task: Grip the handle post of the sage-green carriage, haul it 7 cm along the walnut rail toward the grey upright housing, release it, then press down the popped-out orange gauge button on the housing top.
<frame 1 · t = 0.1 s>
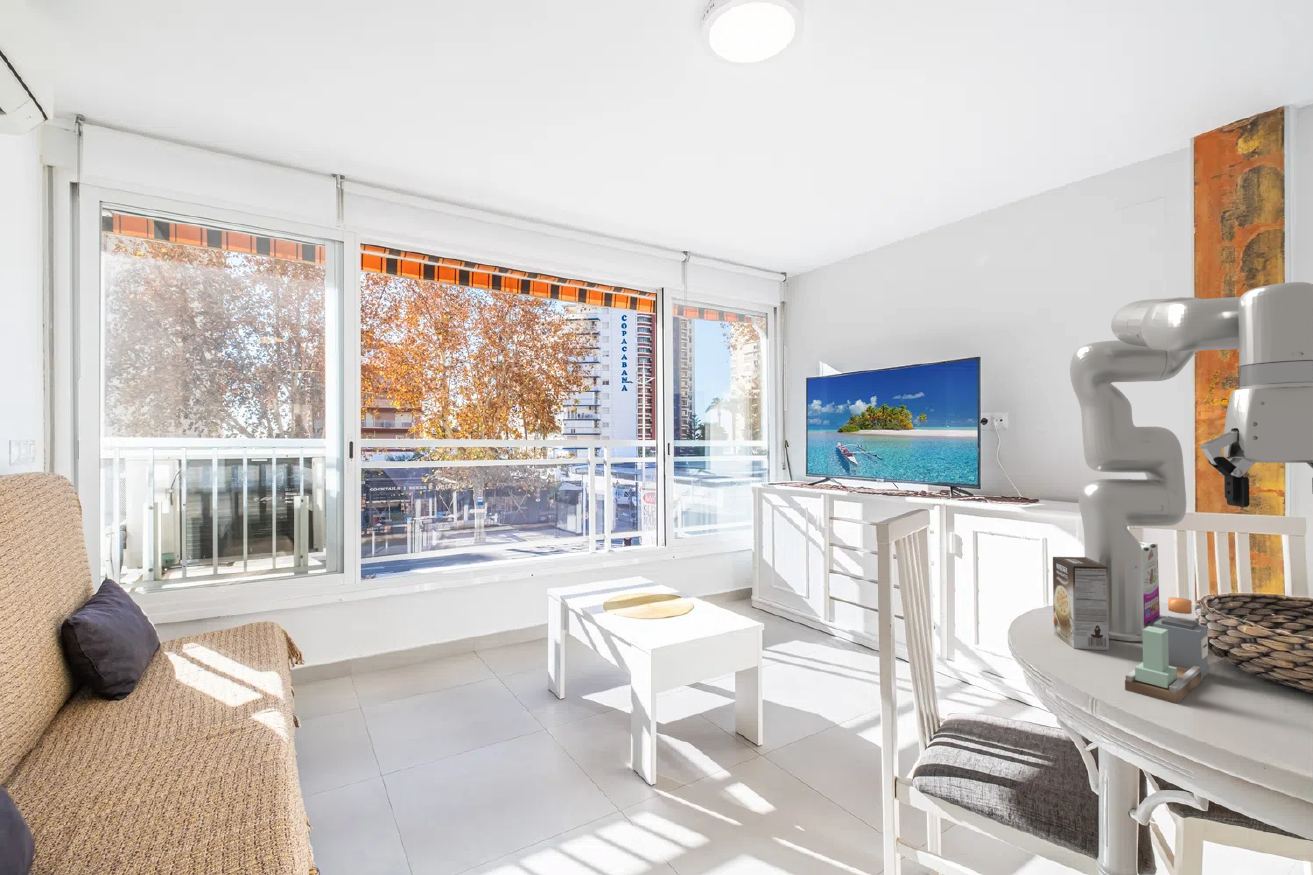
hand: (1281, 506, 79), 31 cm above the table, tool pointing down, fingers open, 9 cm apart
candy bar box: (1138, 619, 131), on the table
rail track: (1163, 685, 96), on the table
carriage: (1155, 654, 94), point 6 cm above the table, slide at 0.0 cm
grey upright housing: (1180, 670, 102), on the table
gauge button: (1179, 605, 102), point 11 cm above the table, slide at 0.0 cm
coffee box: (1080, 642, 117), on the table
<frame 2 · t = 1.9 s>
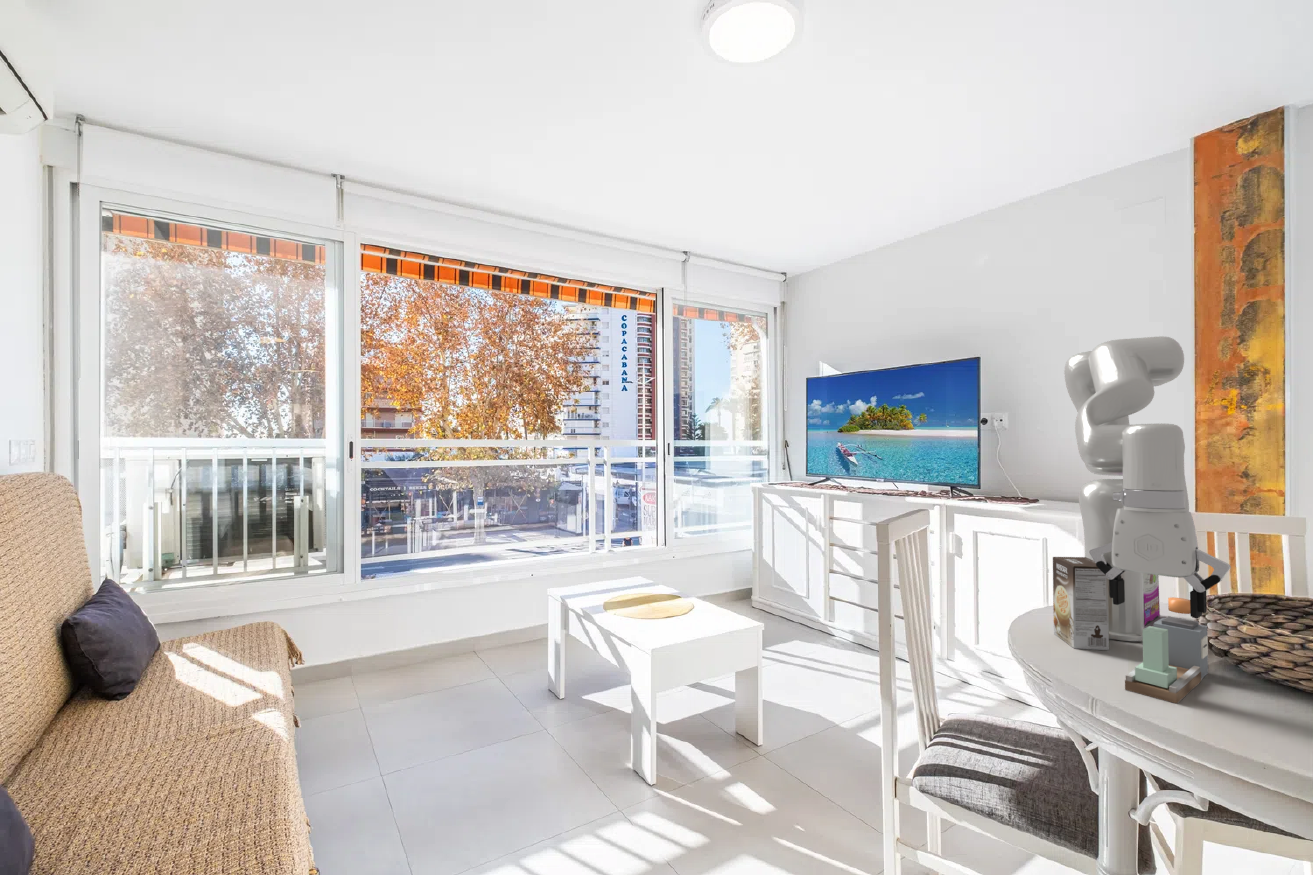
hand: (1156, 609, 93), 13 cm above the table, tool pointing down, fingers open, 9 cm apart
nothing on the table moved.
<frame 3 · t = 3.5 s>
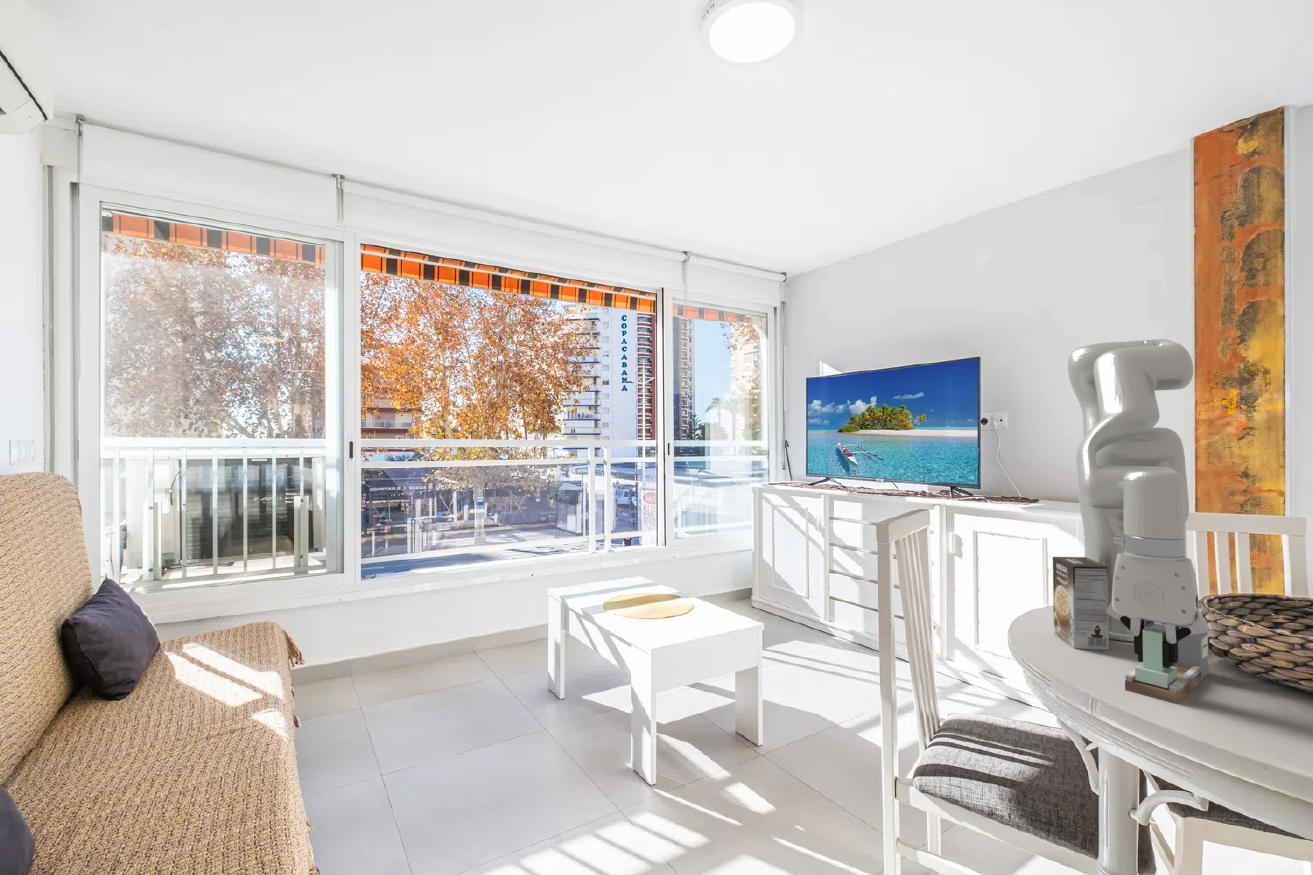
hand: (1155, 661, 94), 5 cm above the table, tool pointing down, fingers closed on carriage, 2 cm apart
carriage: (1155, 654, 94), point 6 cm above the table, slide at 0.0 cm, touching gripper
everything else where it was.
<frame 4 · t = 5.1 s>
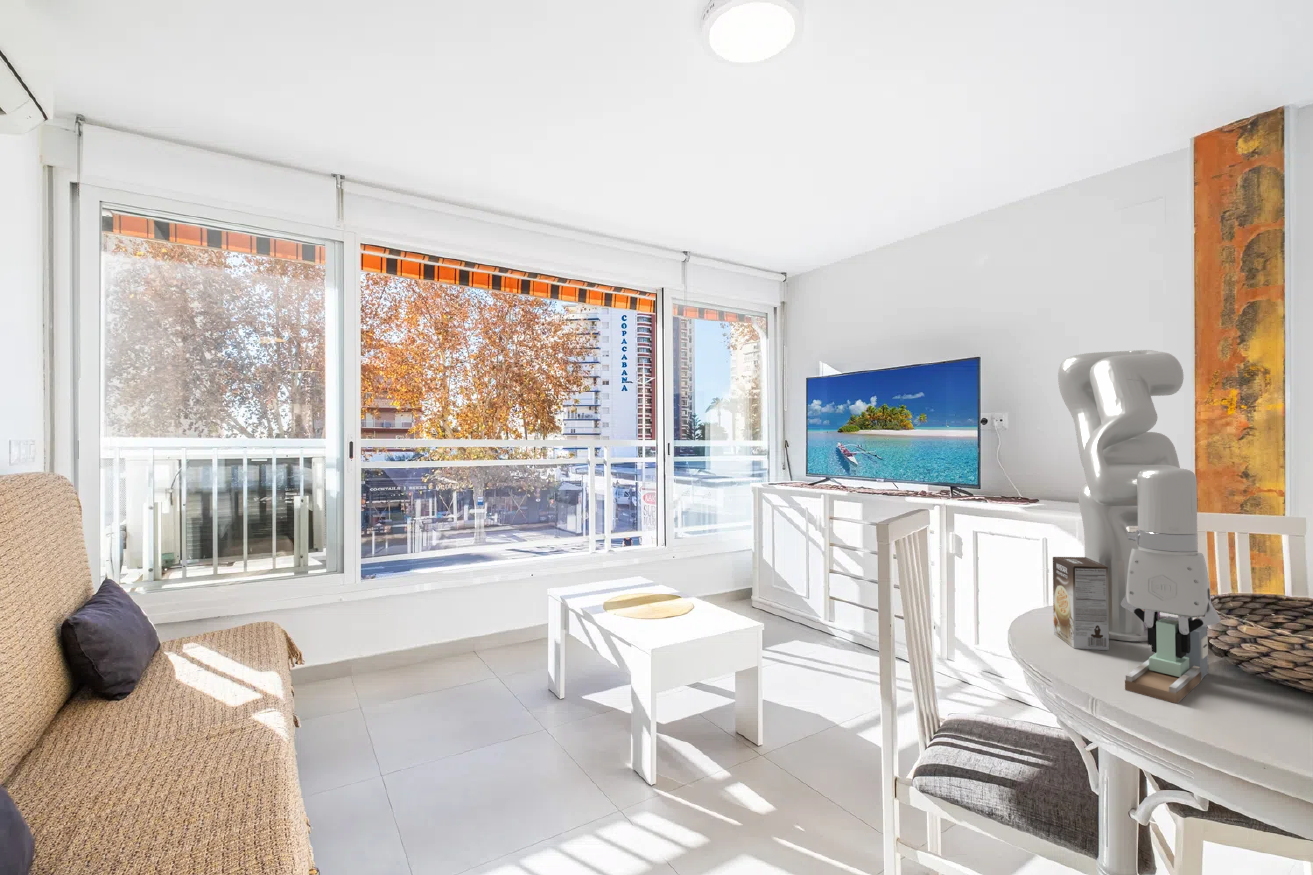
hand: (1168, 652, 98), 5 cm above the table, tool pointing down, fingers closed on carriage, 2 cm apart
carriage: (1168, 645, 98), point 6 cm above the table, slide at 6.9 cm, touching gripper
everything else where it was.
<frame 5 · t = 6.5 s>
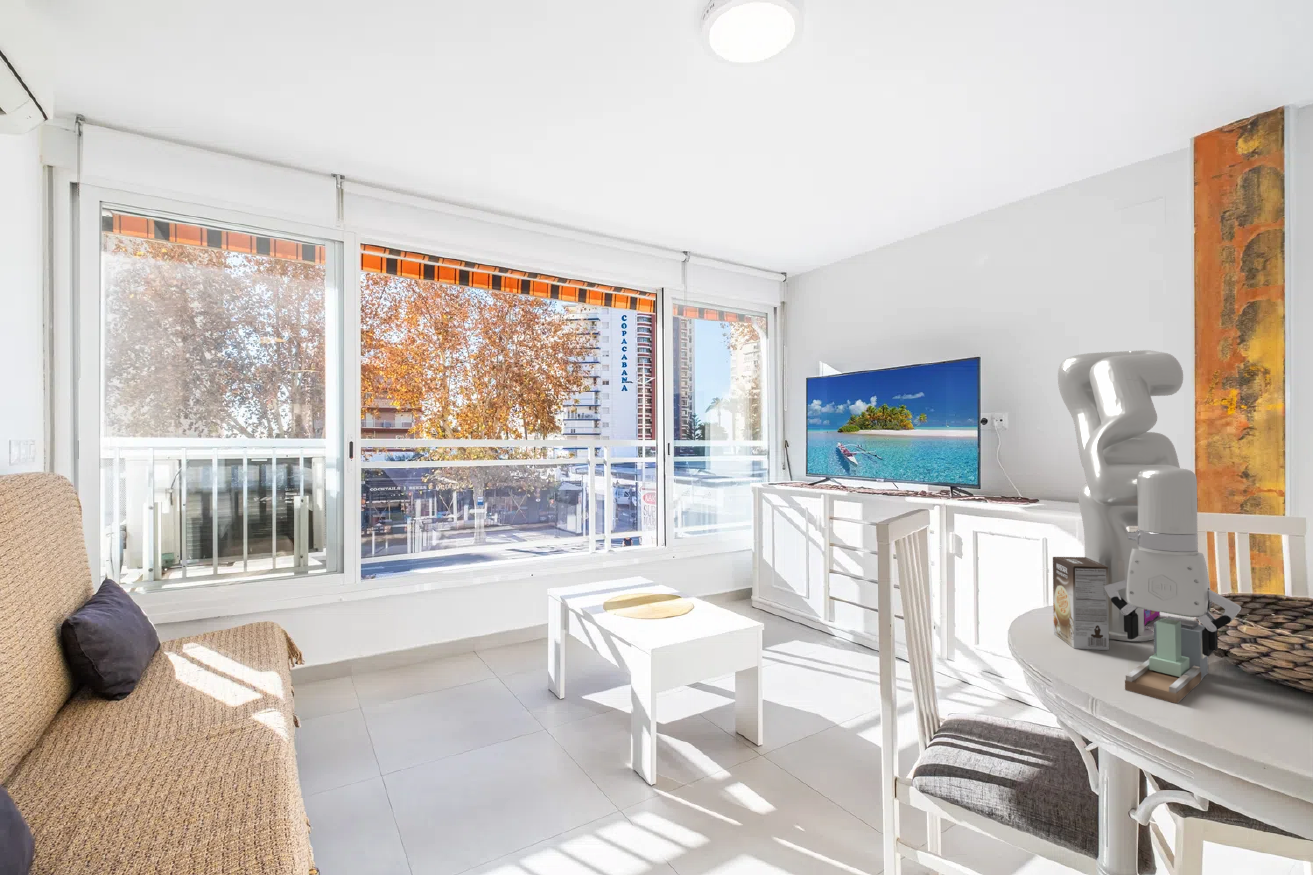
hand: (1168, 645, 98), 6 cm above the table, tool pointing down, fingers open, 9 cm apart
carriage: (1168, 645, 98), point 6 cm above the table, slide at 7.0 cm
everything else where it was.
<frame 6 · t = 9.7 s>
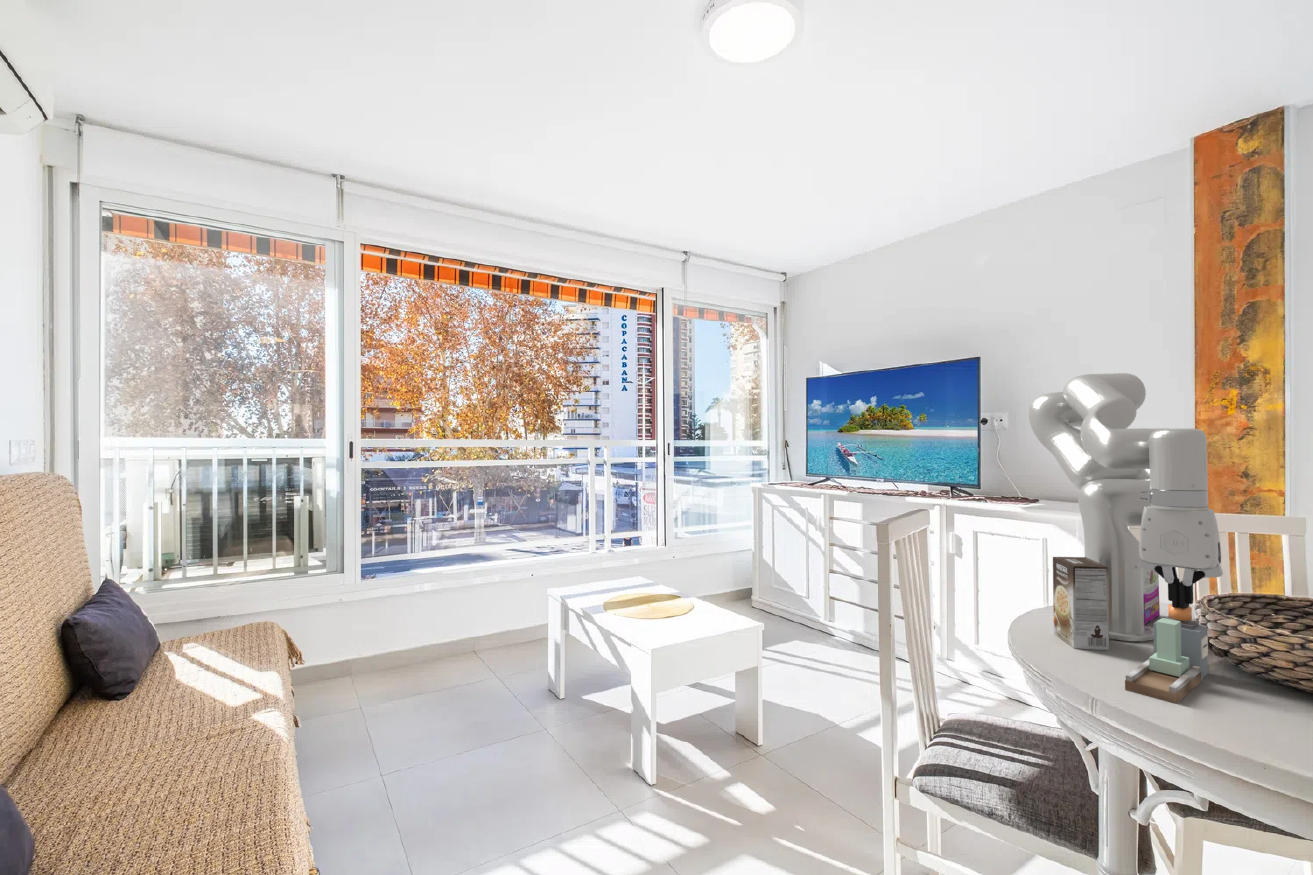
hand: (1180, 606, 102), 11 cm above the table, tool pointing down, fingers closed
gauge button: (1179, 612, 102), point 10 cm above the table, slide at 1.2 cm, touching gripper
everything else where it was.
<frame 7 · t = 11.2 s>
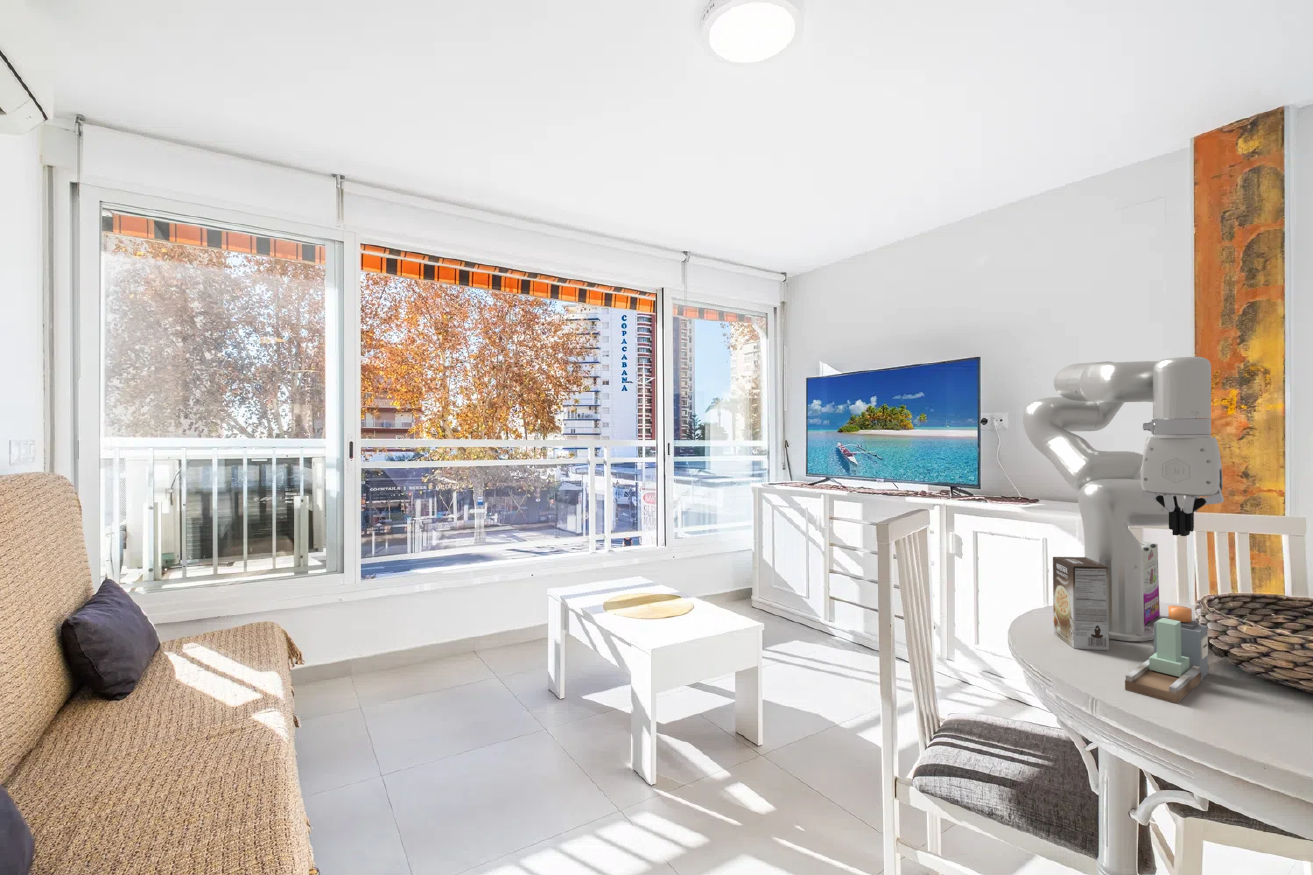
hand: (1181, 534, 103), 23 cm above the table, tool pointing down, fingers closed
gauge button: (1180, 613, 102), point 10 cm above the table, slide at 1.4 cm
everything else where it was.
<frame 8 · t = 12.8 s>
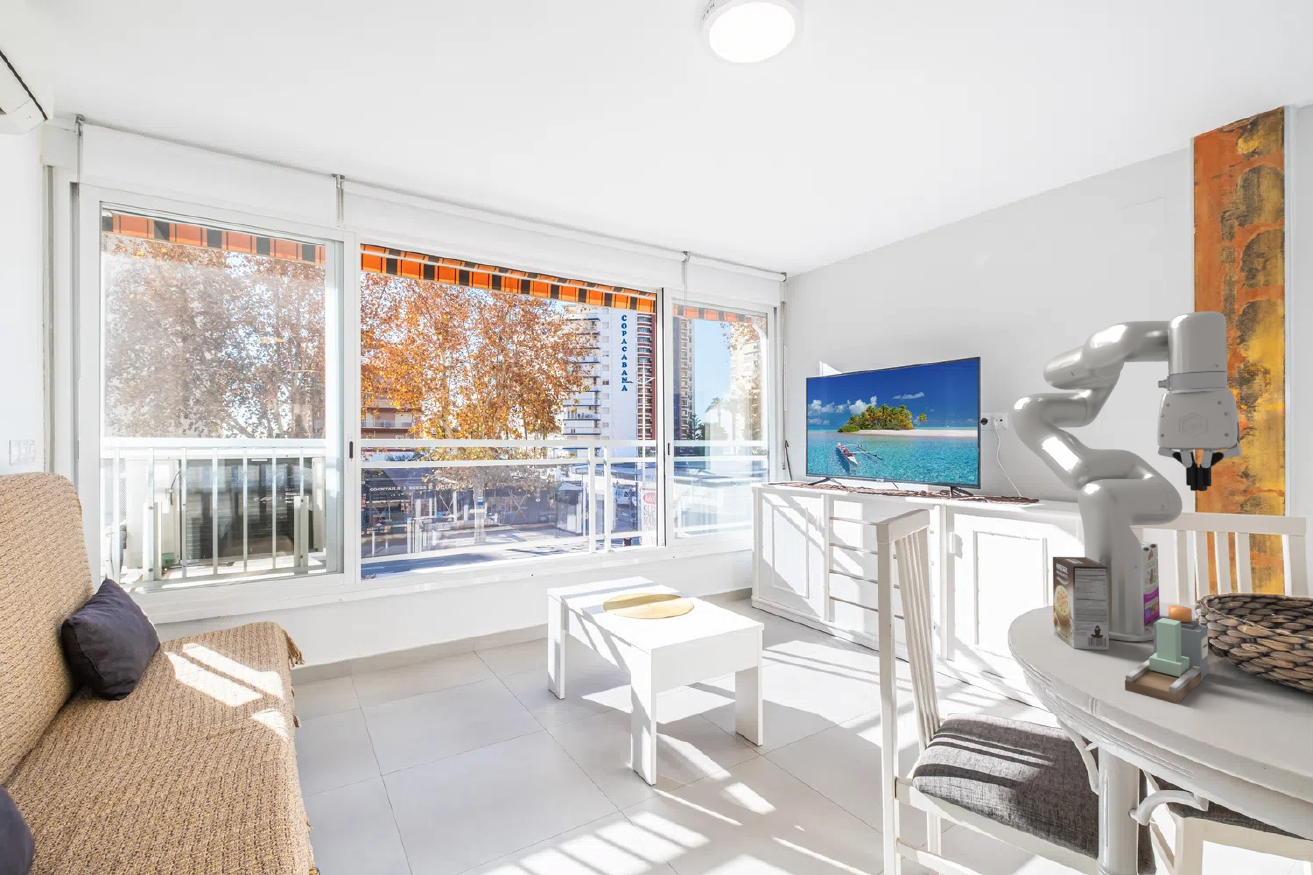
hand: (1198, 490, 102), 31 cm above the table, tool pointing down, fingers closed
nothing on the table moved.
at the end: carriage slide at 7.0 cm; gauge button slide at 1.4 cm; coffee box moved 0.2 cm from its start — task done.
